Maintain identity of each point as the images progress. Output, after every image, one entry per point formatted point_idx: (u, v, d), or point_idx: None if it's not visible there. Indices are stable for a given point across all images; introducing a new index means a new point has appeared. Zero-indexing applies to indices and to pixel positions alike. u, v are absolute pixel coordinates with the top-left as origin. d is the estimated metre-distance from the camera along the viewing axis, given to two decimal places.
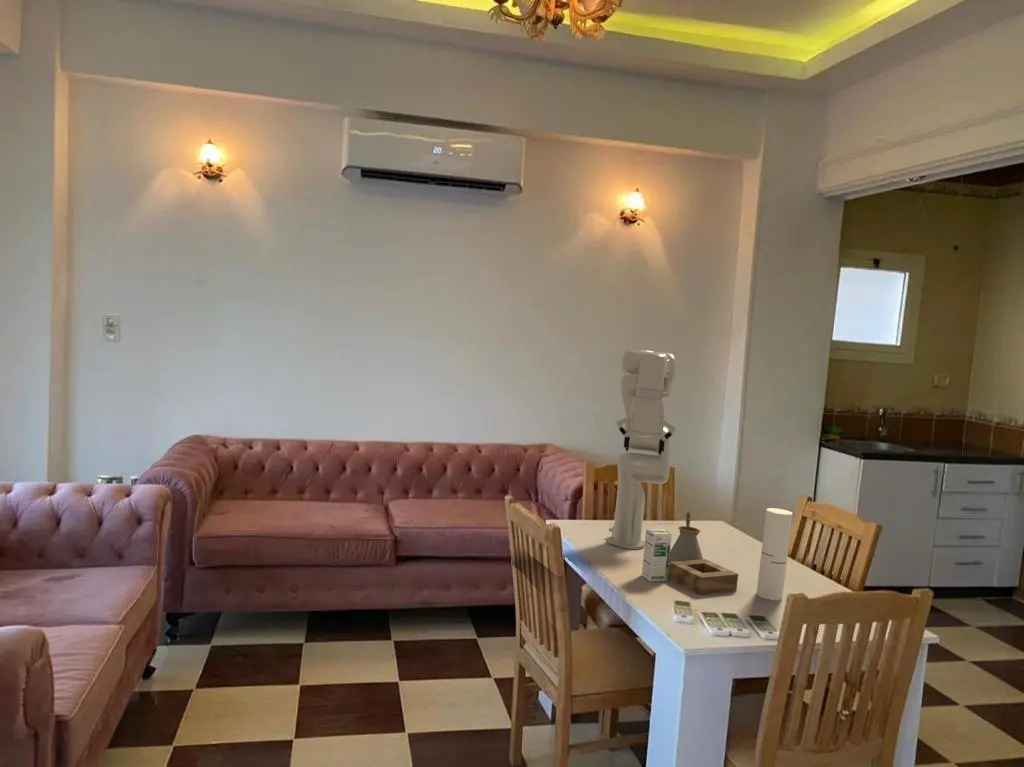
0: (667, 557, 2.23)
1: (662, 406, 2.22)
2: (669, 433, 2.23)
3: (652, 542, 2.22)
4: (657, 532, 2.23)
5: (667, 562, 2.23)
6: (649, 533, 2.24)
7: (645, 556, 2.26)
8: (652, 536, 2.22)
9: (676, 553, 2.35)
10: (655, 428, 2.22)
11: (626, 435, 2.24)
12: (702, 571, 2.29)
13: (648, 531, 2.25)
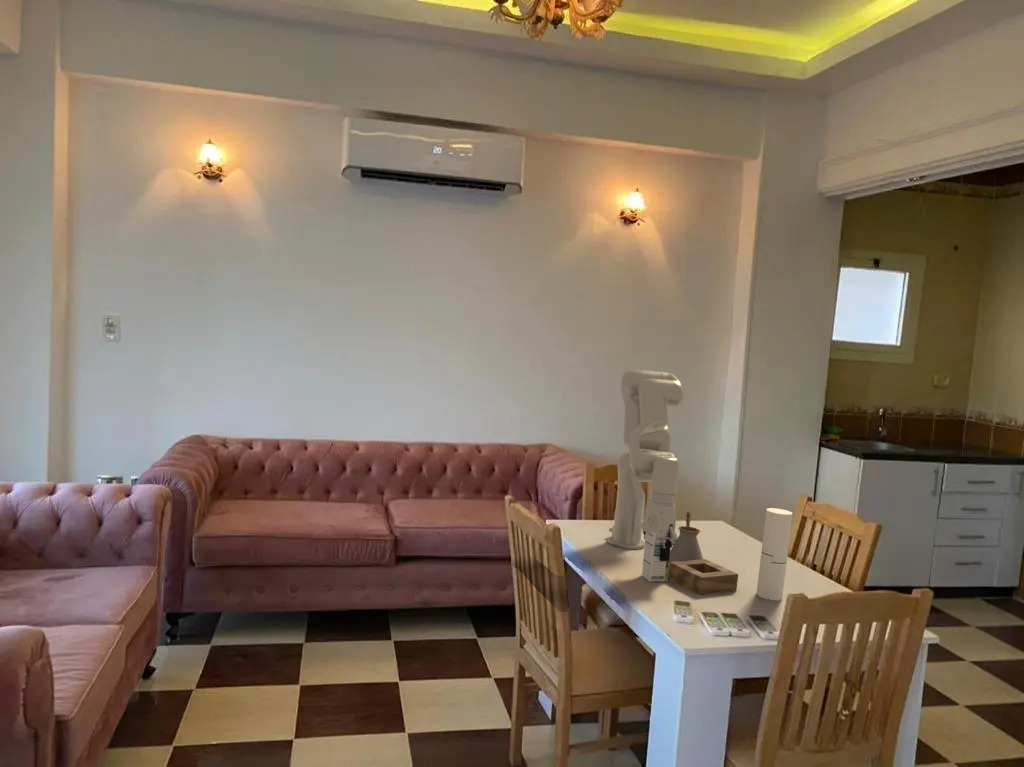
0: None
1: None
2: None
3: (652, 542, 2.22)
4: None
5: (667, 562, 2.23)
6: None
7: (645, 556, 2.26)
8: (652, 536, 2.22)
9: (676, 553, 2.35)
10: None
11: None
12: (702, 571, 2.29)
13: None
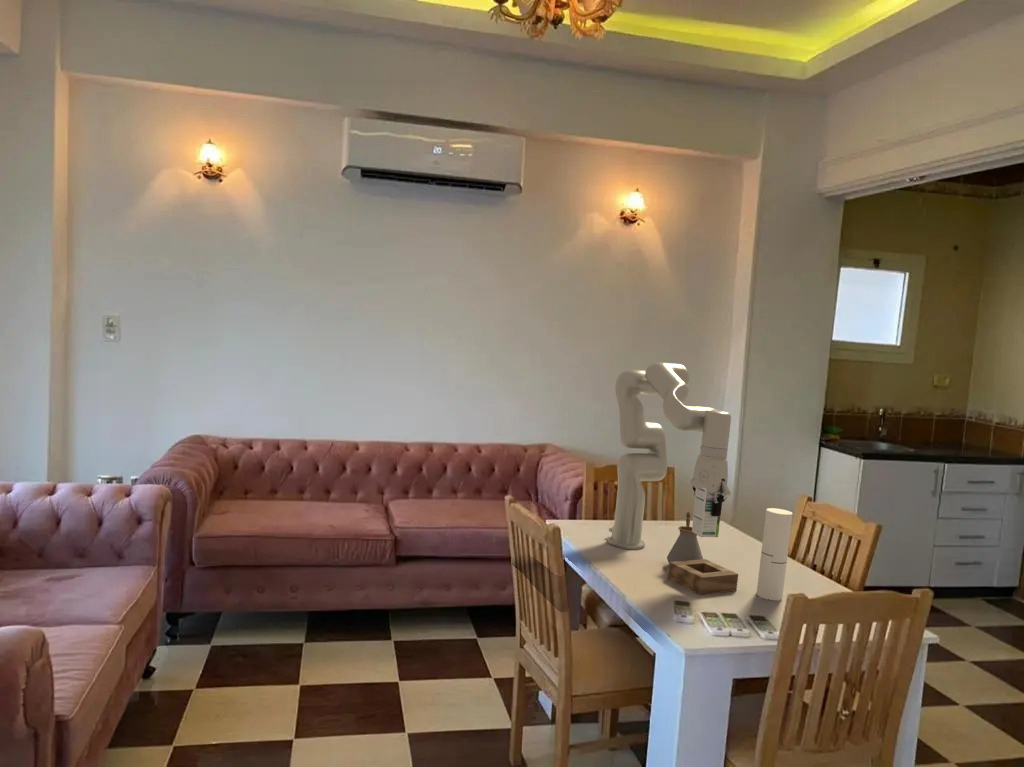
0: None
1: None
2: None
3: (704, 497, 2.19)
4: None
5: (718, 518, 2.21)
6: None
7: (695, 512, 2.23)
8: (703, 491, 2.20)
9: (676, 553, 2.35)
10: None
11: None
12: (702, 571, 2.29)
13: None
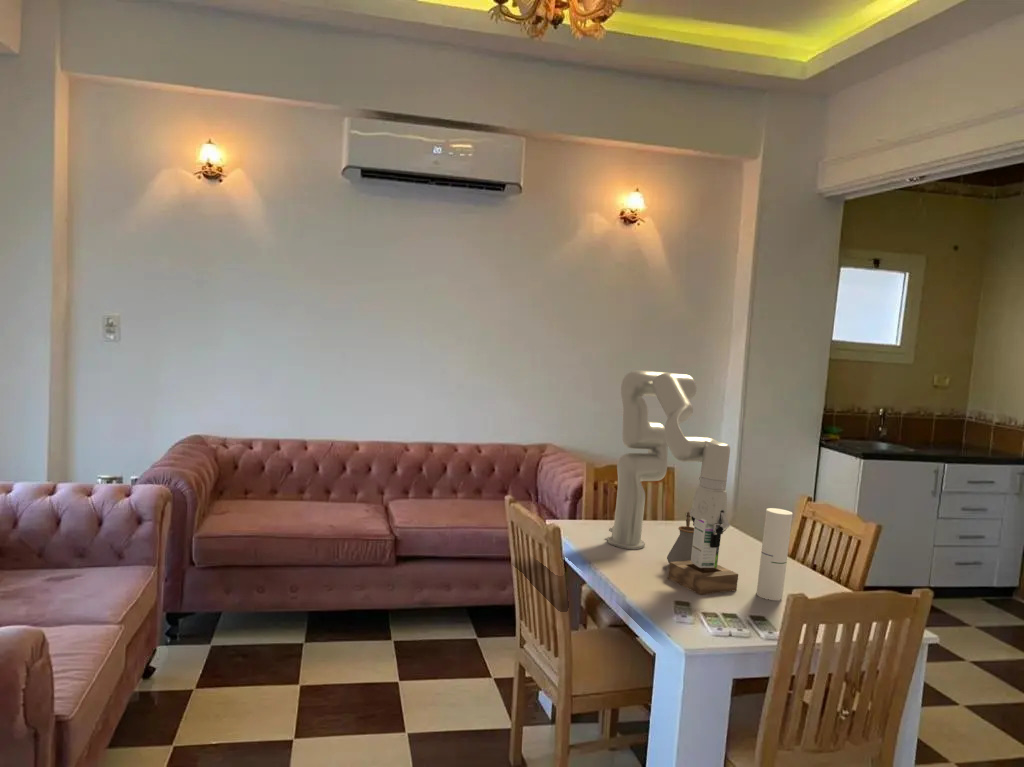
0: None
1: None
2: None
3: (703, 528, 2.20)
4: None
5: (717, 549, 2.21)
6: None
7: (694, 542, 2.24)
8: (702, 522, 2.21)
9: (676, 553, 2.35)
10: None
11: None
12: (702, 571, 2.29)
13: None
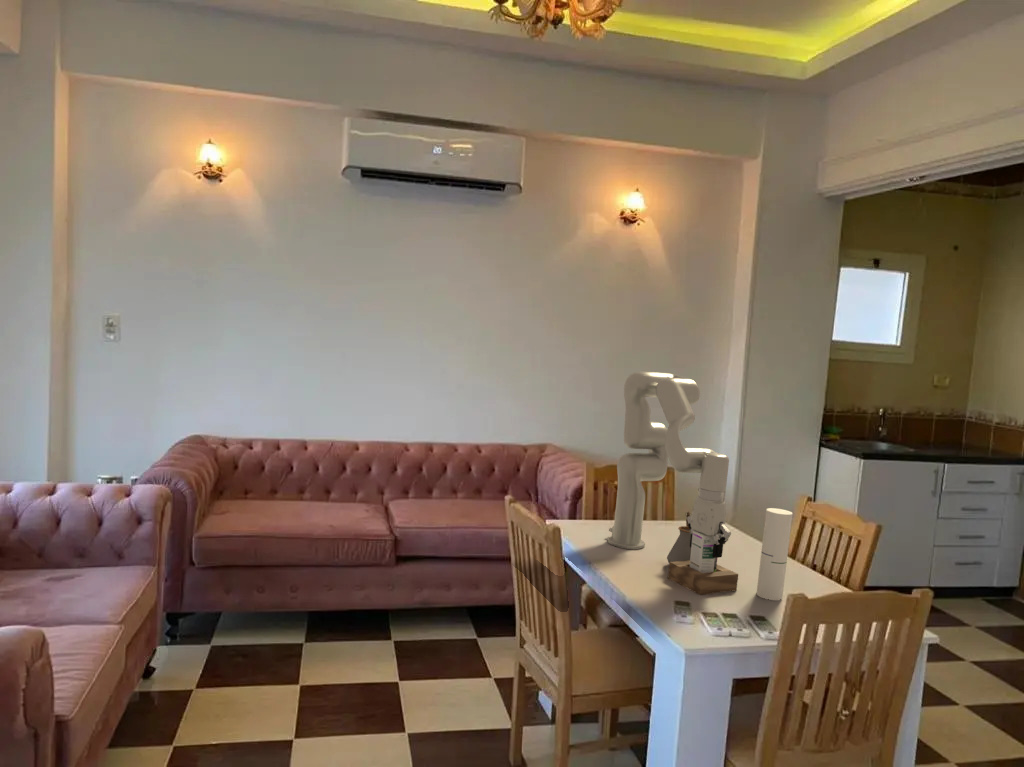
0: (715, 559, 2.22)
1: None
2: None
3: (701, 544, 2.21)
4: None
5: (715, 564, 2.22)
6: (696, 535, 2.23)
7: (692, 558, 2.24)
8: (700, 538, 2.21)
9: (676, 553, 2.35)
10: None
11: None
12: None
13: (696, 533, 2.24)
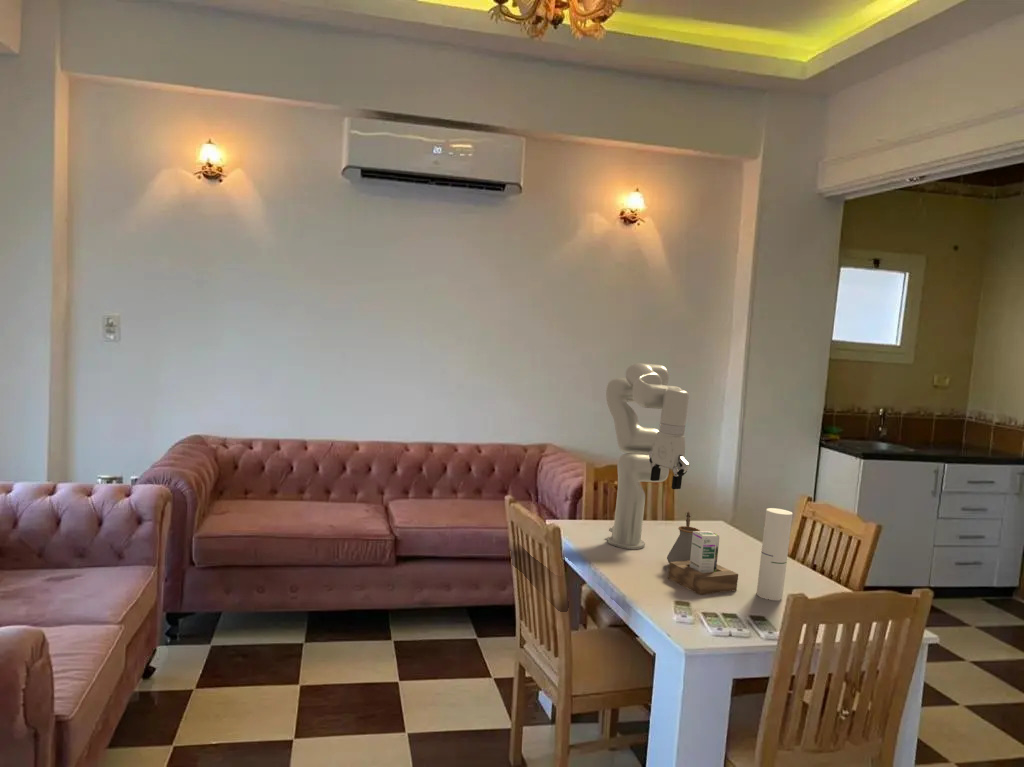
0: (715, 559, 2.22)
1: None
2: None
3: (701, 544, 2.21)
4: (705, 534, 2.22)
5: (715, 564, 2.22)
6: (696, 535, 2.23)
7: (692, 558, 2.24)
8: (700, 538, 2.21)
9: (676, 553, 2.35)
10: None
11: None
12: None
13: (696, 533, 2.24)
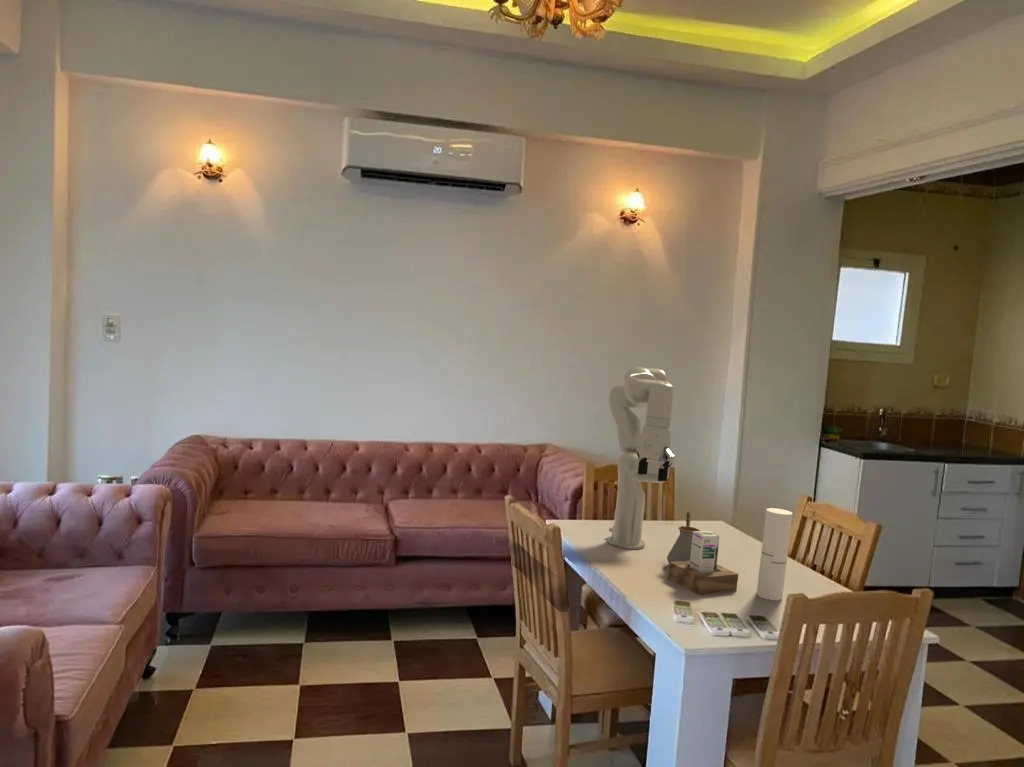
0: (715, 559, 2.22)
1: None
2: None
3: (701, 544, 2.21)
4: (705, 534, 2.22)
5: (715, 564, 2.22)
6: (696, 535, 2.23)
7: (692, 558, 2.24)
8: (700, 538, 2.21)
9: (676, 553, 2.35)
10: None
11: None
12: None
13: (696, 533, 2.24)
